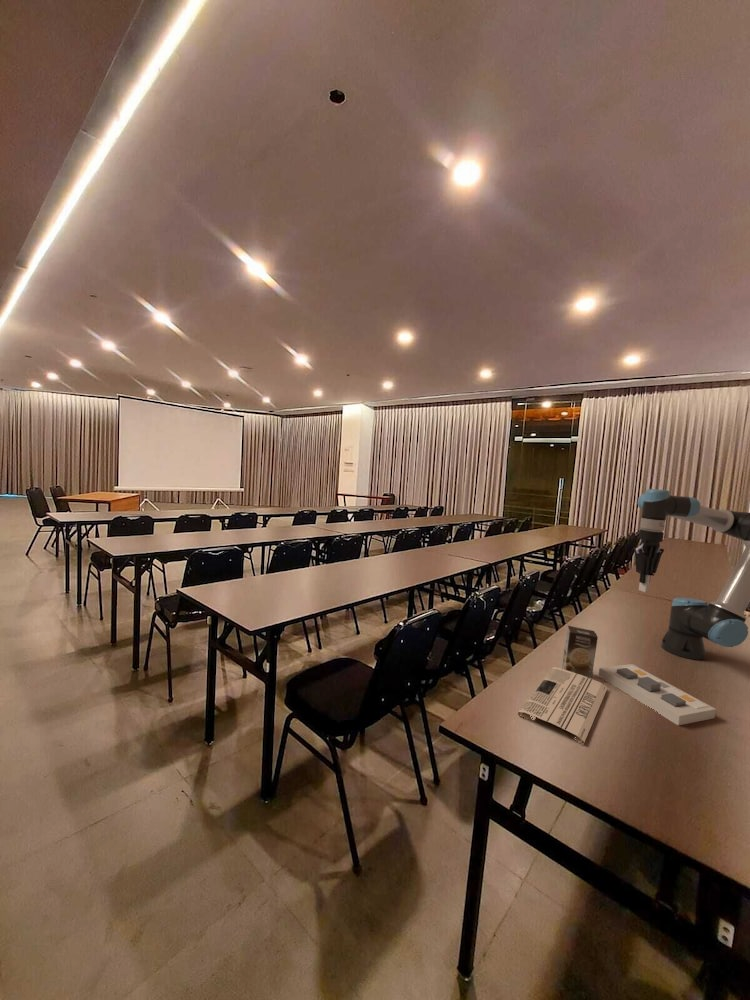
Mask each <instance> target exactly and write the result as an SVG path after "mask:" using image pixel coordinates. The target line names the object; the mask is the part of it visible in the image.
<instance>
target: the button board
mask: <svg viewBox="0 0 750 1000" xmlns="http://www.w3.org/2000/svg"><path fill="white" fill-rule="evenodd" d="M622 668H627V669H629V670H631V671H633V672H635V673H636V674H638V676H637V678H635V679H626V678H625V677H623V676H621V675H619V674H618V673H617V669H622ZM598 677H599V678H601V679H603V680H604V681H606V682H607V683H609V684H611V686H614V687H616V688H617V689H619V690H620V691H622V692H623V693H625V694H627V695H628V696H630V697H632V698H633V699H635V700H636V699H637V700H636V701H638V702H639V701H640V702H639V703H641V704H642V705H644V704H645V706H646V705H647V706H646V707H648V706H649V707H650V709H651V708H652V709H654V710H655V711H654V710H653V711H654V712H656V711H657V712H658V713H657V712H656V713H657V714H659V715H660V714H661V715H660V716H662V717H664V718H665V719H667V720H669V721H670V722H672V723H673V724H675V725H676V726H682V725H688V724H692V723H697V722H702V721H707V720H713V719H715V718H716V711H717V709H716V708H715V707H713V706H711V705H709V704H708V703H705V702H704V701H702V700H701V699H699V698H696V697H694V696H692V695H691V694H688V693H687V692H685V691H683V690H681V689H680V688H679V687H676V686H674V685H672V684H670V683H668V682H667V681H665V680H664V679H661V678H659V677H658V676H655V674H654V675H653V674H652V673H650V672H648V671H646V670H644V669H642V668H641V667H639V666H637V665H635V664H633V663H630V664H628V663H627V664H621V665H614V666H606V667H605V666H603V667H599V669H598ZM643 677H649V678H651V679H653V680H655V681H657V682H659V683H660V684H661V687H660V691H658V692H651V693H650V692H649V691H647V690H645V689H643V688H642V687H640V686H638V679H639V678H643ZM669 693H672V694H674V695H676V696H678V697H679V698H681V699H683V700H685V701H686V704H685V706H681V707H674V706H673V705H671V704H669V703H667V702H666V701H664V700H662V699H661V697H662V695H663V694H669ZM649 707H648V708H649ZM652 709H651V710H652Z"/></svg>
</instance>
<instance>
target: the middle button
mask: <svg viewBox="0 0 750 1000" xmlns="http://www.w3.org/2000/svg"><path fill="white" fill-rule="evenodd" d="M638 686H640V687H642V688H643V689H645V690H647V691H649V692H650V693H651V692H658V691H660V687H661V684H660V683H659V682H657V681H655V680H653V679H651V678H649V677H643V678H639V679H638Z"/></svg>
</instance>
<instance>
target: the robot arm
mask: <svg viewBox="0 0 750 1000" xmlns="http://www.w3.org/2000/svg"><path fill="white" fill-rule="evenodd" d="M637 506H638V508H639V509H641V511H642V512H641V519H640V523H639V524H640V526H639V528H640V529H639V532H638V534H639V535H638V539H639V540H640V542H639V546H638V547H634V548H633V551H634V552H633V553H635V554H634V555H635V556H634V557H635V572H636V573H638V574H639V581H638V582H639V585H638V591H640V592H643V593H649V589H650V583H651V576H655V574H656V573H657V570H658V567H659V564H660V560H661V558H662V555H663V553H664V552H665V549H664V548H661V547H660V546H661V545H660V543H662V542H663V541H664V536H665V535H664V534H665V533H664V531H665V527H666V526H665V525H666V520H667V517H669V518H670V517H672V518H674V519H678V520H681V521H686V522H689V523H694V524H697V525H701V526H705V527H709V528H712V530H714V531H715V532H717V533H722V534H724V535H728V536H730V537H733V538H736V539H738V540H743V542H742V543H743V544H744V546H745V548H744V550H743V552H742V553H741V556H740V557H739V559H738V561H737V562H736V565H735V567H734V568H733V570H732V572H731V573H730V576H729V577H728V579H727V581H726V582H725V585H724V586H723V588H722V590H721V592H720V594H719V595H718V597H717V600H715V601H711V602H709V603H708V602H707V601H705V600H702V599H697V598H693V597H692V598H690V597H684V596H683V597H680V596H679V597H678V596H677V597H674V598H673V599H672V603H671V608H670V615H669V622H668V629H667V630H666V633H665V635H664V636H663V638H662V639H661V642H660V643H661V644H660V647H661V648H662V649H663V650H664V651H667V652H668V653H670V654H673V655H675V656H677V657H680V658H681V657H682V658H684V659H685V658H686V659H689V660H698V661H699V660H705V659H706V655H707V654H706V653H707V651H706V648H705V643H704V639H706V640H708V641H710V642H712V643H713V644H716V645H719V646H721V647H725V648H734V647H736V646H737V647H738V646H739V645H741V644H742V643H743V642H744V641H746V639H747V637H748V635H749V627H748V625H747V624H746V623H745V622H746V621H747V617H746V615H745V611H746V609H747V608H748V606H749V604H750V512H744V511H734V510H729V509H724V508H723V509H720V510H719V509H715V508H711V507H708V506H703V505H701V503H700V501H699V499H697V498H696V497H692V496H681V495H679V496H678V495H672V494H670V491H669V490H668V489H667V490H666V489H657V488H648V489H646V490H645V492H644V493H641V494H640V495H639V497H638V498H637ZM703 638H704V639H703Z"/></svg>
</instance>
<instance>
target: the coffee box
mask: <svg viewBox="0 0 750 1000" xmlns="http://www.w3.org/2000/svg"><path fill="white" fill-rule="evenodd" d="M598 638H599V637H598V634H597V633H596V632H595V631H594V630H590V629H585V628H581V627H577V626H572V625H567V630H566V636H565V642H564V649H563V651H564V652H563V657H562V665H561V669H564V670H567V671H571V672H574V673H577V674H580V675H583V676H585V677H588V678H590V679H593V671H594V666H595V658H596V651H597V645H598Z"/></svg>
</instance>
